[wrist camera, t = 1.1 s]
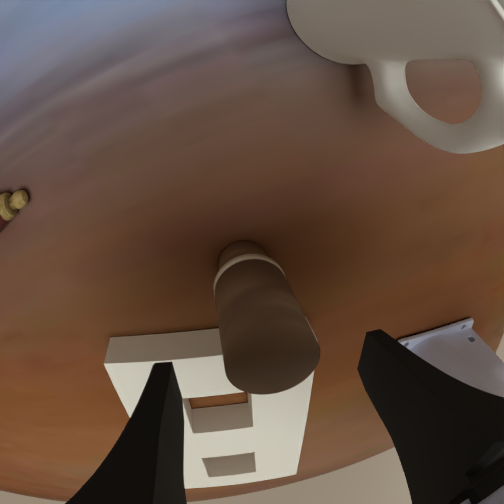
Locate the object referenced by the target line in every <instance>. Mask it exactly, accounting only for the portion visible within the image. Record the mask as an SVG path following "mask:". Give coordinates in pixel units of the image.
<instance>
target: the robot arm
mask: <svg viewBox="0 0 504 504" xmlns="http://www.w3.org/2000/svg"><path fill="white" fill-rule="evenodd" d="M473 322H474V320H473V319H472V318H469V319H466V320H463V321H460V322H457V323H453V324H450V325H447V326H444V327H441V328H438V329H434V330H431V331H428V332H424V333H421V334H417V335H414V336H410V337H407V338H403V339H400V340H398V341H396V340H395V339H394V338H392V337H391V336H389V335H388V334H387V333H385V332H384V331H382V330H381V329H378V330H374V331H370V332H366V336H365V341H364V345H363V349H362V353H361V357H360V361H359V364H358V368H357V369H358V372H359V375H360V377H361V380H362V383H363V385H364V388H365V390H366V392H367V394H368V396H369V398H370V399H371V401H372V403H373V405H374V407H375V409H376V410H377V412H378V414H379V416H380V418H381V419H382V421H383V423H384V425H385V427H386V428H387V430H388V432H389V434H390V436H391V438H392V440H393V443H394V446H395V448H396V451H397V453H398V456H399V458H400V462H401V465H402V468H403V471H404V473H405V477H406V480H407V484H408V488H409V491H410V495H411V500H412V504H504V363H503V361H502V360H501V359H500V358H499V357H498V356H497V355H496V354H495V353H494V351H493V350H492V349H491V348H490V347H489V346H488V345H487V344H486V343H485V342H484V341H483V340H482V339H481V338H480V336H479V335H478V334H477V333H476V332H475V331H474V330H473V329H472V325H473ZM65 504H187V503H186V495H185V487H184V412H183V400H182V395H181V391H180V388H179V385H178V381H177V378H176V374H175V371H174V367H173V363H172V362H160V363H155V364H154V365H153V366H152V369H151V372H150V375H149V377H148V380H147V382H146V385H145V387H144V390H143V392H142V394H141V396H140V399H139V401H138V403H137V405H136V407H135V409H134V411H133V413H132V415H131V417H130V419H129V421H128V423H127V425H126V426H125V428H124V430H123V432H122V434H121V435H120V437H119V439H118V440H117V442H116V444H115V445H114V447H113V448H112V450H111V451H110V453H109V454H108V455H107V457H106V458H105V460H104V461H103V462H102V464H101V465H100V466H99V468H98V469H97V470H96V472H95V473H94V474H93V475H92V476H91V477H90V479H89V480H88V481H87V482H86V483H85V484H84V485H83V486H82V487H81V489H80V490H79V491H78V492H77V493H76V494H75V495H74V496H73V497H72V498H71V499H70V500H69V501H67V502H66V503H65Z"/></svg>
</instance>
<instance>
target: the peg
mask: <svg viewBox="0 0 504 504" xmlns="http://www.w3.org/2000/svg"><path fill="white" fill-rule="evenodd" d="M218 268H219V271H218V273H217V275H216V277H215V280H214V286H213V289H214V297H215V303H216V310H217V318H218V326H219V333H220V340H221V347H222V354H223V361H224V368H225V373H226V376H227V379H228V380H229V382H230V383H231V384H232V385H233V386H235V387H236V388H237V389H239V390H241V391H244V392H247V393H251V394H258V395H266V394H274V393H279V392H282V391H285V390H288V389H290V388H293V387H295V386H296V385H298V384H300V383H301V382H303V381H304V380H305V379H306V378H307V377H309V375H310V374H311V373H312V372H313V371H314V369H315V368H316V366H317V364H318V362H319V358H320V347H319V344H318V342H317V340H316V338H315V336H314V334H313V332H312V330H311V328H310V326H309V324H308V322H307V320H306V318H305V315H304V313H303V311H302V309H301V307H300V305H299V303H298V301H297V299H296V297H295V295H294V293H293V291H292V289H291V287H290V285H289V283H288V281H287V279H286V277H285V274H284V272H283V270H282V269H281V267H280V266H279V264H278V263H277V262H275V261H274V260H273V259H271V258H269V257H267V256H266V253H265V251H264V250H263V249H262V247H261V246H259V245H258V244H256V243H254V242H252V241H245V240H244V241H237V242H234V243H232V244H230V245H228V246H227V247H226V248H225V249H224V250H223V251H222V253H221V254H220V257H219V260H218Z"/></svg>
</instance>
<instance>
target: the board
mask: <svg viewBox="0 0 504 504" xmlns="http://www.w3.org/2000/svg"><path fill="white" fill-rule="evenodd" d="M305 318H306V320H307V322H308V324H309V321H308V319H307V317H305ZM309 326H310V324H309ZM310 328H311V326H310ZM311 330H312V328H311ZM312 332H313V330H312ZM313 334H314V332H313ZM314 336H315V334H314ZM315 338H316V336H315ZM316 340H317V338H316ZM317 342H318V340H317ZM160 362H172V363H173V367H174V371H175V374H176V378H177V381H178V385H179V388H180V391H181V395H182V400H183V412H184V487H185V488H202V487H214V486H225V485H233V484H242V483H249V482H256V481H262V480H268V479H274V478H279V477H284V476H289V475H294V474H296V472H297V467H298V462H299V457H300V452H301V447H302V441H303V436H304V430H305V425H306V419H307V413H308V407H309V401H310V395H311V388H312V381H313V375H314V371H313V372H312V373H311V374H310V375H309V377H307V378H306V379H305V380H304V381H303V382H301V383H300V384H298V385H296V386H295V387H293V388H290V389H288V390H285V391H282V392H279V393H274V394H266V395H258V394H251V393H247V394H248V403H241V404H233V405H225V406H216V407H206V408H195V409H191V405H190V402H189V398H194V397H204V396H214V395H223V394H231V393H239V392H244V391H241V390H239V389H237V388H236V387H235V386H233V385H232V384H231V383H230V382H229V380H228V379H227V376H226V373H225V368H224V361H223V354H222V347H221V340H220V333H219V328H216V329H207V330H197V331H187V332H176V333H164V334H152V335H138V336H123V337H110V341H109V345H108V349H107V353H106V357H105V361H104V365H105V367H106V370H107V372H108V374H109V376H110V378H111V381H112V383H113V385H114V387H115V389H116V391H117V393H118V395H119V397H120V399H121V401H122V403H123V405H124V407H125V409H126V411H127V413H128V415H129V417H131V415H132V413H133V411H134V409H135V407H136V405H137V403H138V401H139V399H140V396H141V394H142V392H143V390H144V387H145V385H146V382H147V380H148V377H149V375H150V372H151V369H152V366H153V365H154V364H155V363H160Z"/></svg>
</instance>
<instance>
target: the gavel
mask: <svg viewBox="0 0 504 504" xmlns="http://www.w3.org/2000/svg"><path fill="white" fill-rule="evenodd" d="M27 203H28V196H27V193H26V192H25V191H24V190H18V191H16V192H15V193H14V194H13V195H11V194H10V193H6V192H5V193H2V194H1V195H0V231H1V230H2V229H3V228H4V226H5V225H6V224H7V223H8V222H9V220H11V219H13V218H14V217H15V215H16V213H17V209H21V208H23V207H24V206H26V204H27Z"/></svg>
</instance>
